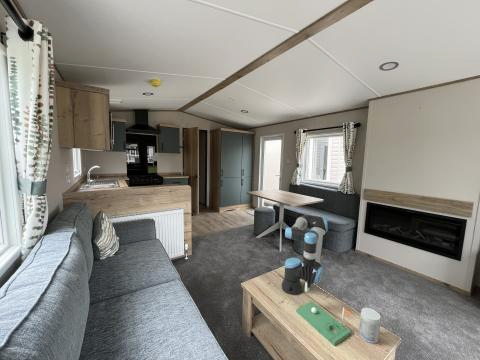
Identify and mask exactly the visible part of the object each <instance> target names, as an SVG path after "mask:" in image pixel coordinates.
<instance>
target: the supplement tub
mask: <svg viewBox="0 0 480 360" xmlns="http://www.w3.org/2000/svg"><path fill="white" fill-rule="evenodd" d="M381 318H382V317H381V315H380V313H379V312H378V311H377V310H376V309H373V308H370V307H363V308H362V309H361V311H360V318H359V319H360V320H359V327H358V329H359V330H358V333H359V336H360V337H361V339H363V340H364V341H366V342H368V343H371V344H377V342H379V337H380V329H381V328H380V327H381V321H382V319H381Z"/></svg>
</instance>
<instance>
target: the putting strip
mask: <svg viewBox="0 0 480 360" xmlns="http://www.w3.org/2000/svg"><path fill="white" fill-rule="evenodd" d="M313 307H315V308H316V309H317V313H315V314H314V313H312V311H311V309H312V308H313ZM295 309H296V310H295V312H296V314H297V315H299V316H300V317H301V318H303V320H305V321H306V322H307V324H309V325H310V326H311V327H312V328H314V329H315V330H316V331H317V332H318V333H320V335H321V336H322V337H324V339H326V340H327V341H328V342H330V344H331V345H333V346H337V345H338V344H339V343H341V342H342V341H343V340H344V339H346V338H347V337H348V336H350V335H351V334H352V333H351V332H352V331H351V330H350V329H349V328H347V327H346V326H345V325H344V321H345V320H344V318H345V315H346V316H348V317H349V318H350V317H351V312H350V311H349V310H347V309H346V308H345V307H342V316H341V322H340V321H338V319H336V318H335V317H333V316H332V315H331V314H330V313H328V312H327V311H325V310H324V309H323V308H321V306H319V305H318V304H316V303H315V302H314V301H309V302H307V303H306V304H303V305H301V306H300V307H299V306H298V308H295ZM332 330H335V331H332Z"/></svg>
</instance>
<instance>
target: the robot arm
mask: <svg viewBox="0 0 480 360" xmlns="http://www.w3.org/2000/svg"><path fill="white" fill-rule="evenodd" d="M328 228H329V227H328V218H327V217H325V216H318V215H311V214H305V215H301V216H299V217H297V218H296V220H295V223H294V224H293V225H292V226H291V227H288V226H287V227H286V228H285V230H284V231H285V232H284V236H285V238H286V239H290V240H295V241H299V242H300V241H301V242H303V244H304V245H303V257H302V260H301V258H299V257H290V258H286V260H285V263H284V274H283V275H284V276H283V277H284V278H283V279H282V282H281V290H282V291H283V292H284V293H286V294H288V295H291V296H297V295H300V294H301V293H302V291H303V287H302V283H301V280H302V281H304V292H305V293H308V292H310V289H311V286H312V284H320V282H321V280H322V277H323V273H324V268H323V267H322V264H321V254H322V248H323V239H324V237H323V236H325V234H326V233H327V232H328V230H329V229H328ZM306 229H308V230H306Z"/></svg>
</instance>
